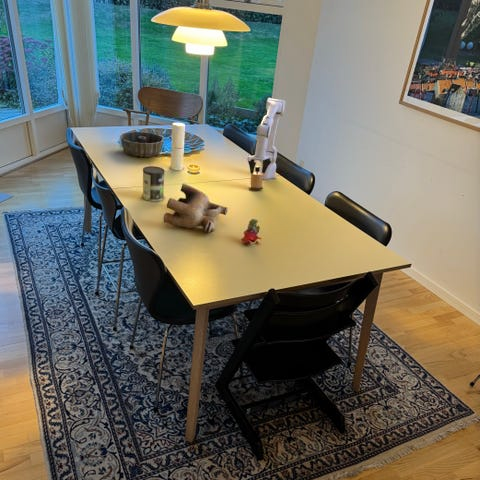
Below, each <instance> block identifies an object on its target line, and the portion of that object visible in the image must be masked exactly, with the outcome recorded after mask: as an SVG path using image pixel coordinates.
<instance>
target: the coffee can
mask: <svg viewBox="0 0 480 480" xmlns="http://www.w3.org/2000/svg"><path fill="white" fill-rule="evenodd" d="M165 173H166V172H165V169H164V168H163V167H159V166H157V165H156V166H154V165H150V166H144V167H143V168H142V198H143V199H144V200H146V201H149V202H160V201H162V200H164V194H165V193H164V191H165V189H164V188H165Z"/></svg>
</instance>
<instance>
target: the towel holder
mask: <svg viewBox="0 0 480 480" xmlns="http://www.w3.org/2000/svg"><path fill="white" fill-rule="evenodd" d="M259 170H260V165H255V168H254V173H253V174H251V173H250V186H249V188H248V189H249V190H255V191H261V190H263V189H264V186H263V182H264V181H263V180H264V179H263V173H259Z"/></svg>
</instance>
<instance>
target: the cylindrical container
mask: <svg viewBox="0 0 480 480" xmlns="http://www.w3.org/2000/svg"><path fill="white" fill-rule="evenodd" d="M185 135H186V124H185V123H182V122H172V124H171V147H170V152H171V153H170V166H169V167H170V169H171V170H174V171H183V169H184V153H185V152H184V151H185Z"/></svg>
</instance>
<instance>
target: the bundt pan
mask: <svg viewBox="0 0 480 480" xmlns="http://www.w3.org/2000/svg"><path fill="white" fill-rule="evenodd" d="M119 138H120V141H121V142H120V143H121V147H122V149H123V151H124V152H125V153H126V154H128V155H129V156H134V157H140V158H142V157H145V158H150V157H151V158H153V157H155V156H157V155H159V154H160V153H161V152H162V150H163V146H164V141H165V138H164V137H163V136H162V135H160V134H158V133H153V132H148V131H127V132H123V133H121V134H119Z"/></svg>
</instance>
